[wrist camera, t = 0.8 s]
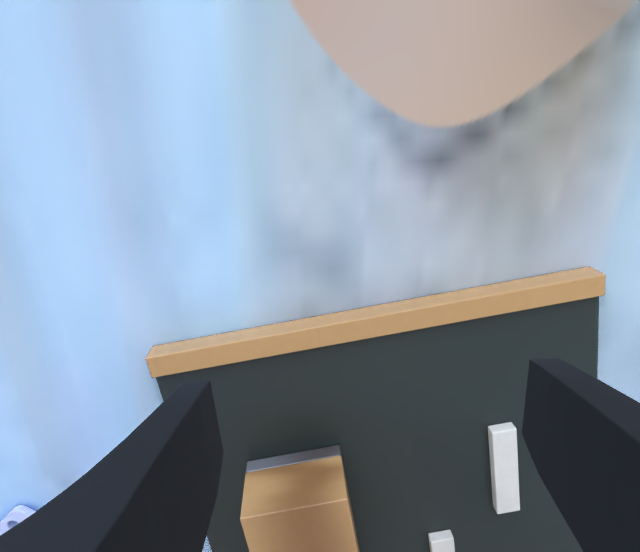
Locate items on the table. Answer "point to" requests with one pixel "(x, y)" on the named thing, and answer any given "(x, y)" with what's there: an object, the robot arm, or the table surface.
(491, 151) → the table surface
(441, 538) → the white rectangular bar
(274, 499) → the eraser
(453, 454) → the slate board
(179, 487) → the robot arm
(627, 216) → the table surface
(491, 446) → the white chalk stick
